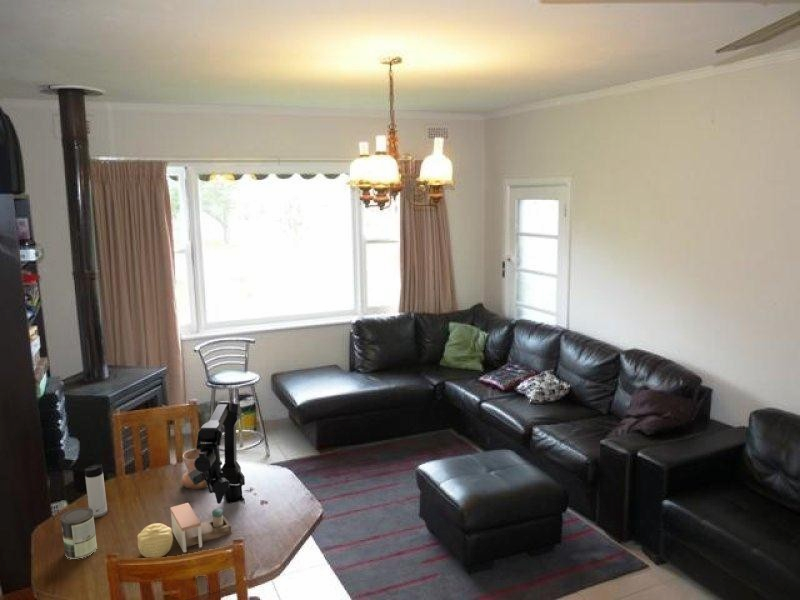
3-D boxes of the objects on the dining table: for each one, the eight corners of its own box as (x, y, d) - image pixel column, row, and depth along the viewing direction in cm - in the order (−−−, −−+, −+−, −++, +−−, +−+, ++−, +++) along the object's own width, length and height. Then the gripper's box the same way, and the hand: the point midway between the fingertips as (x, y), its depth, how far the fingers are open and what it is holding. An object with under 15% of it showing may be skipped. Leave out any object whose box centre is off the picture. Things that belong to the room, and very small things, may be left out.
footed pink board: (190, 526, 240) (188, 502, 239) (202, 547, 226) (200, 522, 225) (172, 531, 237) (170, 507, 235) (184, 553, 223) (181, 528, 221)
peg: (222, 527, 239) (220, 507, 238) (225, 531, 236) (223, 511, 235) (212, 530, 237) (210, 510, 236) (215, 534, 234) (213, 514, 233)
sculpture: (139, 566, 216) (136, 537, 214) (138, 548, 227) (135, 520, 224) (175, 558, 220) (172, 529, 218) (172, 540, 231) (170, 513, 229)
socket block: (224, 523, 242) (224, 516, 241) (231, 533, 235) (231, 525, 235) (180, 536, 233) (179, 529, 233) (185, 547, 227) (185, 539, 226)
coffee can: (59, 561, 220) (55, 523, 217) (72, 544, 230) (67, 508, 227) (90, 559, 220) (86, 521, 218) (101, 542, 231) (97, 506, 228)
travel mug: (101, 518, 247) (95, 470, 243) (86, 517, 248) (80, 468, 244) (111, 510, 253) (106, 463, 249) (96, 508, 254) (91, 461, 250)
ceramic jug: (218, 490, 268) (216, 458, 265) (181, 496, 263) (179, 463, 261) (216, 473, 285) (214, 442, 282) (182, 477, 280) (179, 447, 278)
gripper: (182, 455, 237) (186, 494, 240) (197, 474, 222) (200, 515, 225) (212, 448, 243) (215, 485, 246) (228, 466, 228) (231, 506, 231)
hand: (215, 498), depth 237 cm, fingers open, 9 cm apart
